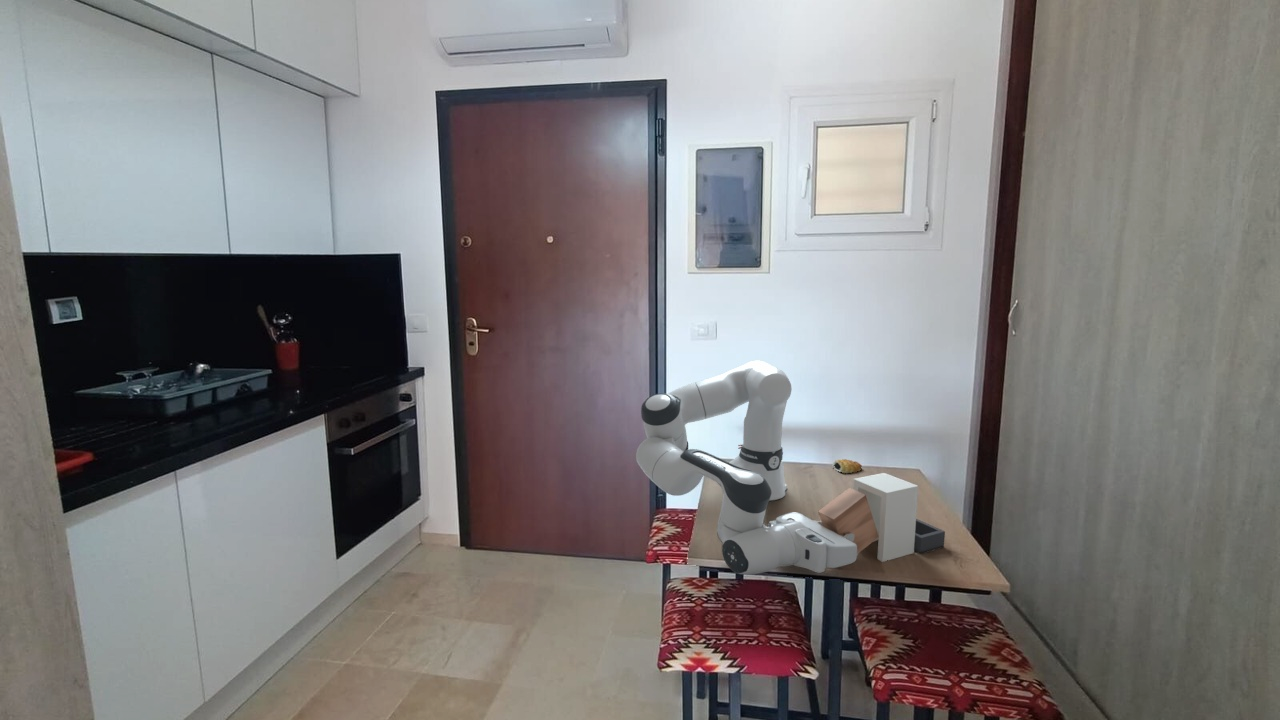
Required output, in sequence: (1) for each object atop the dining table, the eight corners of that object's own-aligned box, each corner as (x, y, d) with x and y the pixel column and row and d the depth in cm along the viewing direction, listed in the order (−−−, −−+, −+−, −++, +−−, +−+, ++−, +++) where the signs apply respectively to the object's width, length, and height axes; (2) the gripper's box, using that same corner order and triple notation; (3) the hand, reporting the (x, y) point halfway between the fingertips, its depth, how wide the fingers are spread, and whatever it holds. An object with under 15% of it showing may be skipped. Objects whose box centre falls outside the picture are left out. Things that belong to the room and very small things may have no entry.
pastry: (853, 466, 202) (854, 455, 202) (866, 472, 196) (867, 461, 195) (830, 468, 199) (830, 458, 199) (842, 475, 193) (843, 464, 193)
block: (832, 552, 138) (817, 511, 135) (862, 528, 142) (849, 487, 138) (848, 561, 134) (833, 519, 130) (878, 536, 137) (865, 494, 134)
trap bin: (879, 533, 150) (880, 518, 149) (902, 527, 153) (903, 513, 153) (920, 554, 139) (921, 537, 138) (943, 547, 142) (945, 531, 142)
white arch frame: (849, 543, 144) (853, 478, 142) (880, 536, 148) (884, 472, 146) (882, 561, 135) (886, 492, 133) (913, 553, 140) (918, 485, 137)
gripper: (763, 536, 139) (809, 525, 145) (825, 577, 121) (875, 562, 127) (764, 511, 138) (810, 501, 144) (826, 547, 120) (876, 534, 126)
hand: (841, 530), depth 135 cm, fingers closed on block, 5 cm apart
